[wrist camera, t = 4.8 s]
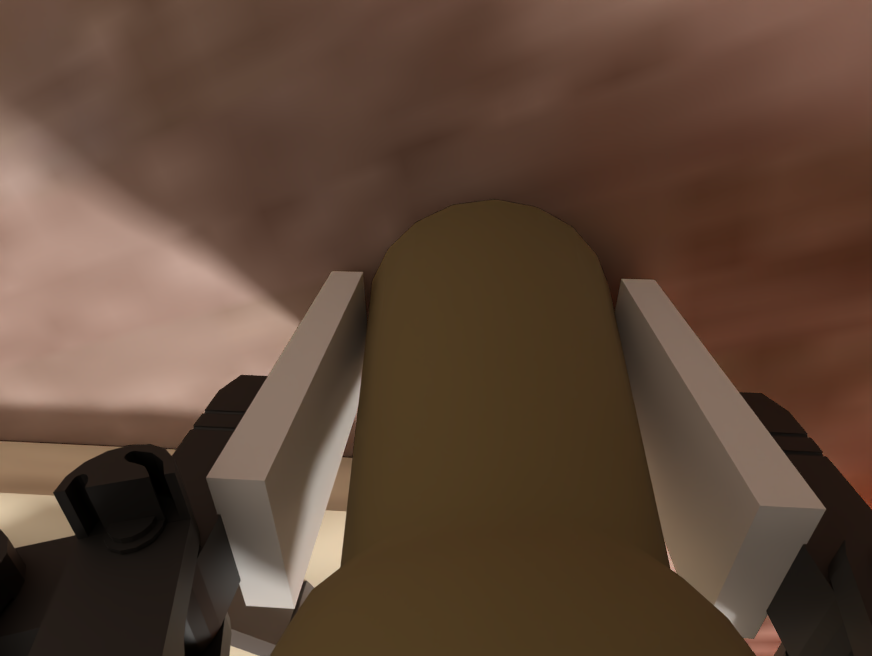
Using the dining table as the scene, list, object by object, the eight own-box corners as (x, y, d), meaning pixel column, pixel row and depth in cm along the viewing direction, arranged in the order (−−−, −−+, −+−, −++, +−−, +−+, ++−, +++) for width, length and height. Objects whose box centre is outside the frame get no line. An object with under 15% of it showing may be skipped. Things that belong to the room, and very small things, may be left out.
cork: (374, 407, 14) (180, 1124, 5) (360, 195, 11) (-215, 992, 2) (589, 417, 14) (828, 1205, 5) (633, 202, 11) (1598, 1200, 2)
